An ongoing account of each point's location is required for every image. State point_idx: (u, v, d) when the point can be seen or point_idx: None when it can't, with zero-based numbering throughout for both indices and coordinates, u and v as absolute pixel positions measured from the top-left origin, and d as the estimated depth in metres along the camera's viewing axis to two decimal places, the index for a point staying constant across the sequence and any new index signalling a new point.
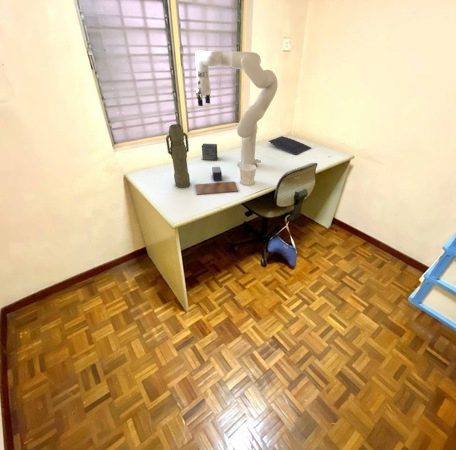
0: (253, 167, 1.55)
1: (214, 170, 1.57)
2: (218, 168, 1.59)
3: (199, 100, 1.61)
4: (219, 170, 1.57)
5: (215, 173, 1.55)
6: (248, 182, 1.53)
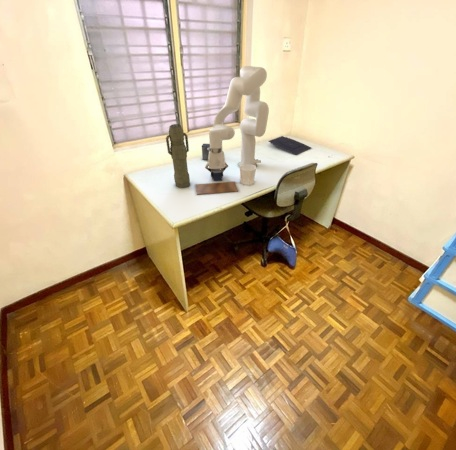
0: (253, 167, 1.55)
1: (214, 170, 1.57)
2: None
3: None
4: (219, 170, 1.57)
5: (215, 173, 1.55)
6: (248, 182, 1.53)
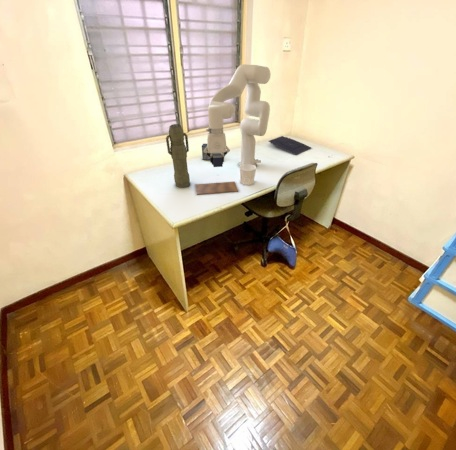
0: (253, 167, 1.55)
1: (214, 155, 1.39)
2: (218, 153, 1.41)
3: (210, 158, 1.41)
4: (219, 155, 1.39)
5: (215, 158, 1.37)
6: (248, 182, 1.53)
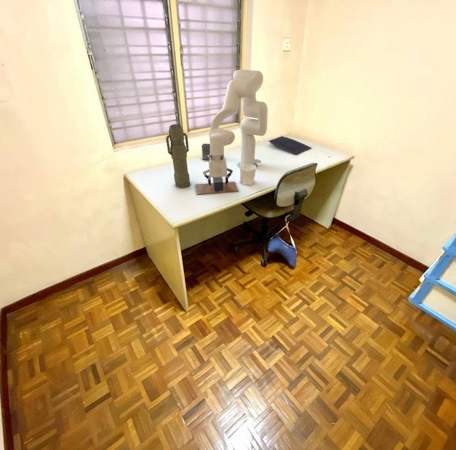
0: (253, 167, 1.55)
1: (215, 179, 1.45)
2: (219, 177, 1.48)
3: (208, 179, 1.46)
4: (220, 179, 1.45)
5: (216, 182, 1.44)
6: (248, 182, 1.53)
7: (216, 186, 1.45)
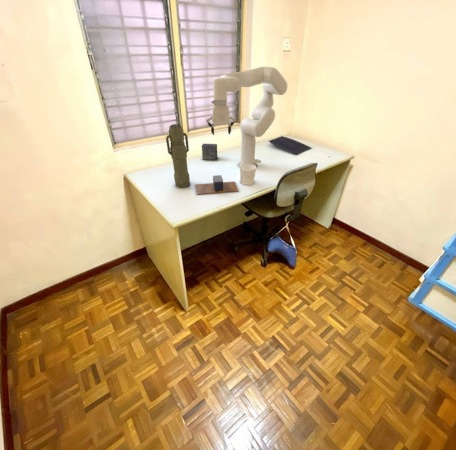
0: (253, 167, 1.55)
1: (215, 179, 1.45)
2: (219, 177, 1.48)
3: (211, 128, 1.48)
4: (220, 179, 1.45)
5: (216, 182, 1.44)
6: (248, 182, 1.53)
7: (216, 186, 1.45)
